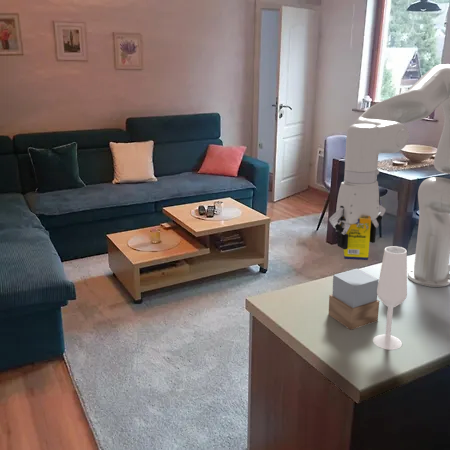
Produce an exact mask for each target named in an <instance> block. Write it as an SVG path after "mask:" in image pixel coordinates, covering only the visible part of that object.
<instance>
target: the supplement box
mask: <svg viewBox="0 0 450 450" xmlns="http://www.w3.org/2000/svg"><path fill="white" fill-rule="evenodd" d="M345 221H346V220H345ZM370 227H371V217H370V216H367V217H362V218H358V220H357V223H356V224H352V225H350V227H349V229H348V231H347V233H346V234H348V248H347V249H343V248H342V249H343V251H342V252H343V259H344V260H357V261H368V260H369V255H370V254H369V253H370V242H369V241H370Z"/></svg>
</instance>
